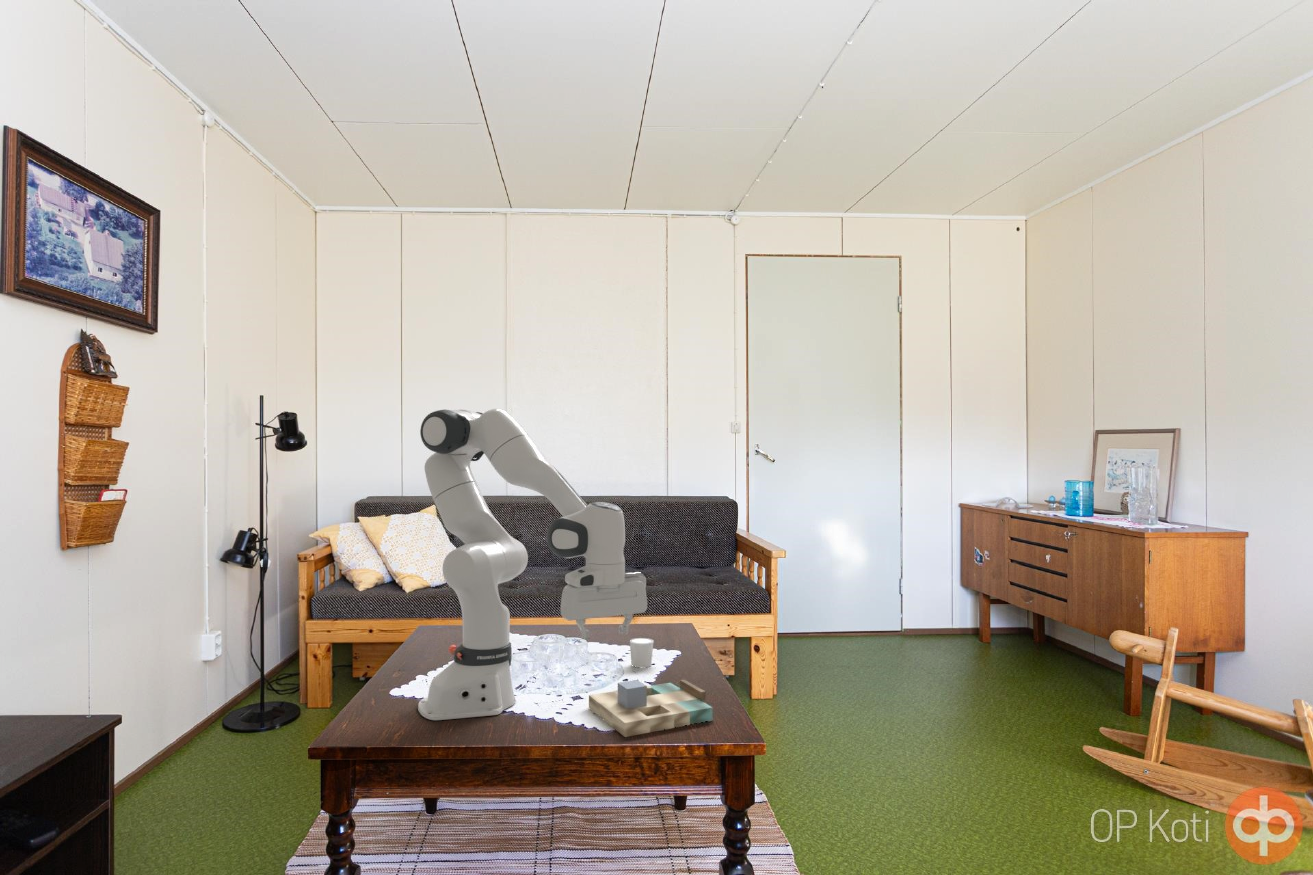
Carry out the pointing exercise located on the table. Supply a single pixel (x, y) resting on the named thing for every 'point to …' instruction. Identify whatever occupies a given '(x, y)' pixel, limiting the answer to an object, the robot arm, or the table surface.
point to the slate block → (632, 694)
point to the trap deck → (654, 709)
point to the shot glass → (641, 652)
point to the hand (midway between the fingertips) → (604, 636)
